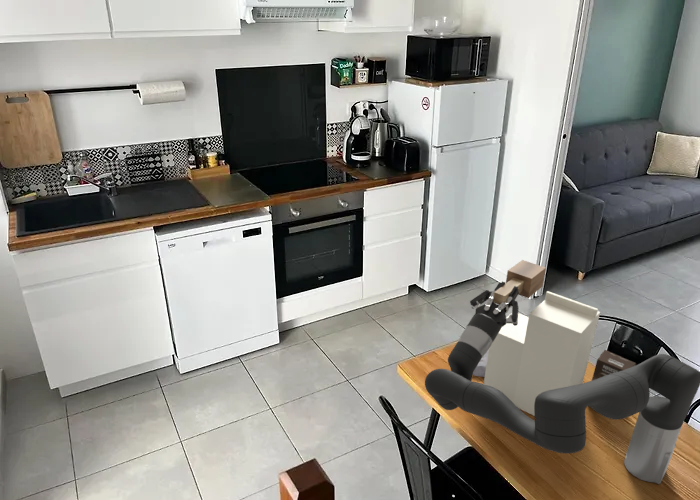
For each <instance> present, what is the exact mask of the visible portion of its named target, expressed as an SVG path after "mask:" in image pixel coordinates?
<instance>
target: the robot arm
mask: <svg viewBox="0 0 700 500" xmlns="http://www.w3.org/2000/svg"><path fill="white" fill-rule="evenodd" d="M505 284H506V281H501V282H499V283H498V284H497V285H496V287H495V288H494V290H492V291H489V290H484V291H483V292H481V293H480V294H479V295H477V296H475V297H474V298H472V299H471V300H469V304H470V307H471V309H473V310H474V311H475V313H474V315H472V317H471V319H470V320H469V322H468V323H467V325H466V327H465V328H464V330H463V331H462V333H461V334H460V336H459V339H458V340H457V342H456V344H455V346H453V348H452V350H451V352H450V353H449V355H448V358H447V363H448V366H449V368H450V370H449V369H446V368H436V369H433V370H431V371H430V372H429V373H428V374H427V375H426V377H425V379H424V387H425V390H426V391H427V394H429V395H430V396H431V398H433V399H434V401H436V403H437V404H438V405H439V406H440V407H441V408H442V409H444V410H446V411H453V410H455V409H457V408H459V409H460V410H461V411H463V412H466V413H469V414H471V415H475V416H477V417H481V418H484V419H487V420H489V421H492V422H494V423H496V424H498V425H500V426H501V427H503V428H505V429H507V430H509V431H511V432H513V433H514V434H516V435H518V436H519V437H521V438H523V439H524V440H525V439H526V440H527V441H529V442H531V443H532V444H535V445H536V446H538V447H540V448H543V449H545V450H547V451H551V452H555V453H557V454H565V455H566V454H567V455H568V454H575V453H579V452H581V451H582V450H584V448H585V447H586V443H587V442H586V440H587V428H586V427H587V425H586V421H587V420H586V409H587V407H589V408H591V410H593V411H595V412H596V413H598V414H599V415H601V416H603V417H605V418H607V419H609V420H615V421H616V420H623V419H627V418H629V417H632V416H634V415H636V414H638V415H637V418H636V423H635V424H634V428H633V431H632V434H631V438H630V441H629V444H628V446H627V451H626V454H625V457H624V460H623V461H624V466H625V468H626V469H627V471H628V472H629V473H630V474H631V475H632V476H634V477H636V478H637V479H639V480H642V481H643V482H644V481H645V482H648V483H655V484H658V485H661V483H662V481H663V479H664V477H665V475H666V473H667V471H668V467H669V464H670V461H671V459H672V456H673V453H674V451H675V448H676V445H677V441H678V438H679V434H680V432H681V430H682V427H683V424H684V421H685V419H686V417H687V416H688V413H689V411H690V408H691V407H692V404H693V401H694V399H695V396H696V394H697V392H698V390H699V388H700V371H699V369H697V368H695V367H693V366H691V365H689V364H687V363H686V362H683V361H681V360H680V359H677V358H676V357H674V356H672V355H669V354H666V353H659V354H656V355H653V356H651V357H650V358H648V359H646V360H644V361H642V362H641V363H638V364H636V365H635V366H633V367H631V368H628V369H625V370H623V371H619V372H615V373H612V374H609V375H606V376H603V377H601V378H598V379H595V380H592V379H591V380H589V381H586V382H583V383H582V384H578V385H573V386H568V387H563V388H557V389H553V390H548V391H545V392H542V393H540V394H539V395H538V396H537V397H536V399H535V404H534V414H535V416H534V419H533V418H531V417H530V416H528V415H527V414H526V413H525V412H523V410H521V409H519V408H518V407H517V406H516V405H515V404H514V403H513V402H512V401H511V400H510V399H509V398H508V397H507V396H506V395H505V394H503V393H502V392H501V391H499V390H498V389H496V388H494V387H491V386H488V385H484V383H480V382H475V381H472V379H473V376H474V375H473V372H474V370H475V368H476V367H477V365H478V363H479V362H480V360H481V358H482V357H483V356H484V355H485V353H486V352H487V351H488V350H489V348H490V347H491V345H492V343H493V341H494V340H495V338H496V336H497V335H498V333H499V331H500V330H501V328H502V327H503V326H504V325H506V323H511V324H513V325H514V326H516V325H517V324H518V313H519V310H520V309H519V302H518V301H517V300H516V299H517V297H518V296H519V295H518V294H519V290H518V287H517V286H514V288H513V289H512V291H511V293H510V294H509V297H508V298H507V299H506V300H505V302H502V303H501V304H500V305H499V304H496V303H494V292H495V291H497V290H498V289H499V288H501V287H502V286H503V285H505ZM486 301H487V302H486ZM485 302H486V303H485ZM510 309H511V313H512V314H511V313H510V314H511V315H510V314H509V315H510V316H509V315H508V316H509V318H507V313H508V312H509V311H510ZM650 390H652V391H654V392H655V393H657V394H659V395H661V396H658V395H657V396H655V395H654V396H650V395H651V393H650V392H651V391H650Z"/></svg>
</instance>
